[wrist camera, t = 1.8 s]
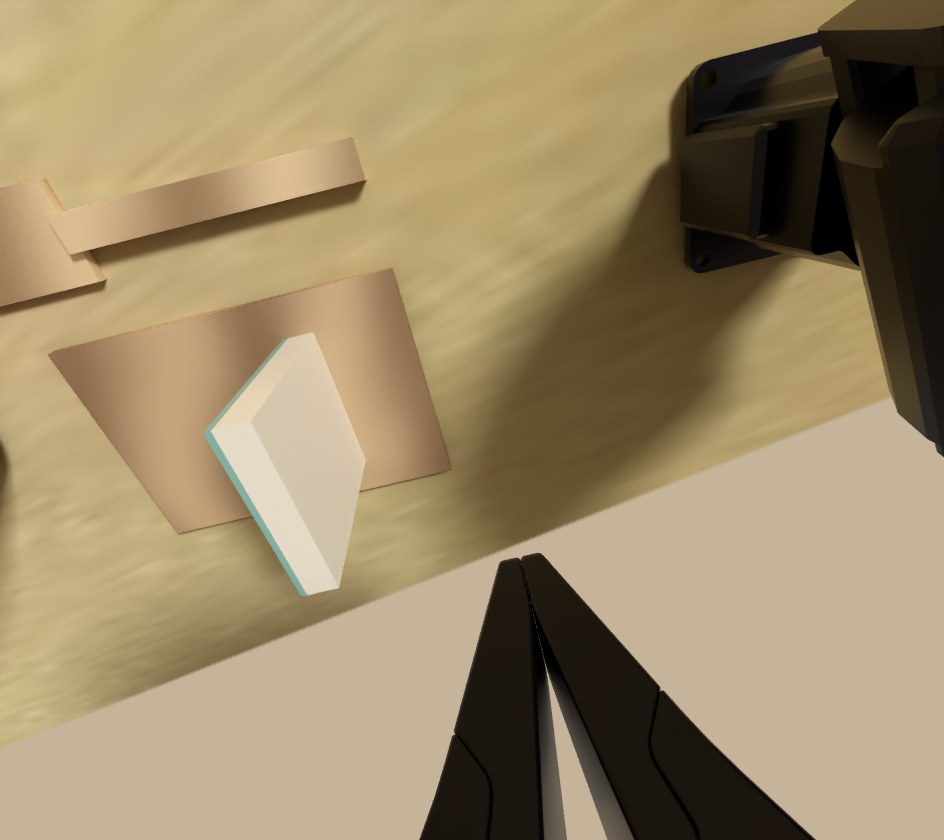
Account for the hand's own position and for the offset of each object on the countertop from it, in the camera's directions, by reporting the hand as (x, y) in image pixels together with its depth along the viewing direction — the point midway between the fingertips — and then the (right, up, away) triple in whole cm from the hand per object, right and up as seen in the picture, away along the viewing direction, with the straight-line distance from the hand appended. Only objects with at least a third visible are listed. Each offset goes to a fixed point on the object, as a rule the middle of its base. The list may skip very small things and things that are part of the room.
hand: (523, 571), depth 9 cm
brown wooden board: (-9, +3, +10) cm, 14 cm away
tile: (-7, +4, +9) cm, 12 cm away
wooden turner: (-12, +10, +6) cm, 16 cm away
